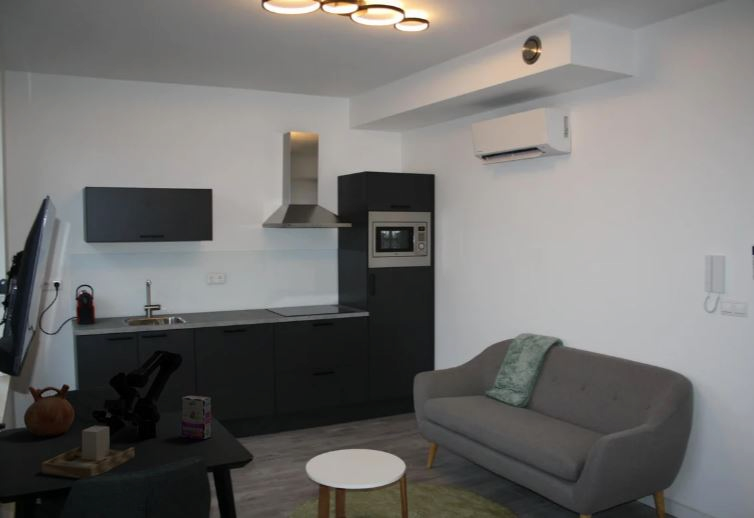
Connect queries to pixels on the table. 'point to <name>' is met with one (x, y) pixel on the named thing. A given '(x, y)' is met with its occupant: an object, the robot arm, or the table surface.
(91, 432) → the cream block
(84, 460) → the wooden tray
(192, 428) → the candy bar box
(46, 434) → the jug
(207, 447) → the table surface
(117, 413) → the robot arm
